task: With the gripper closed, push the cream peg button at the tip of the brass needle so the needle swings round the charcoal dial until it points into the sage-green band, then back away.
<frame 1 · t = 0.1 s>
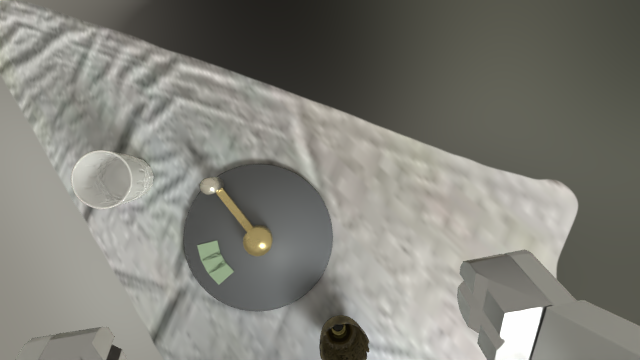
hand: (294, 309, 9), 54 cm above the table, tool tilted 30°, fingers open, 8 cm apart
needle: (237, 216, 58), point 4 cm above the table, hinge at 0.0°
white cup: (132, 177, 61), on the table
dial: (259, 237, 63), on the table
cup: (337, 325, 64), on the table
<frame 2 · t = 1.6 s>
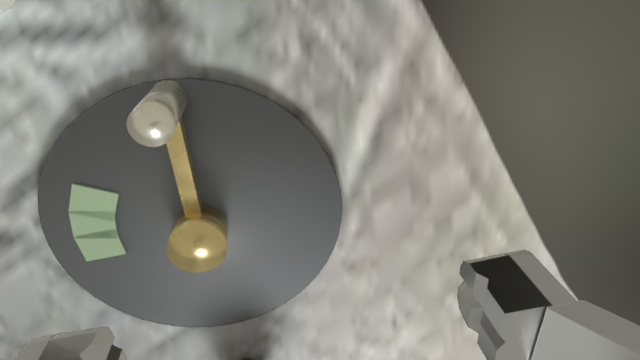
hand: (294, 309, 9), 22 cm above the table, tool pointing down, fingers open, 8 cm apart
needle: (182, 193, 27), point 4 cm above the table, hinge at 0.0°
dial: (202, 219, 33), on the table
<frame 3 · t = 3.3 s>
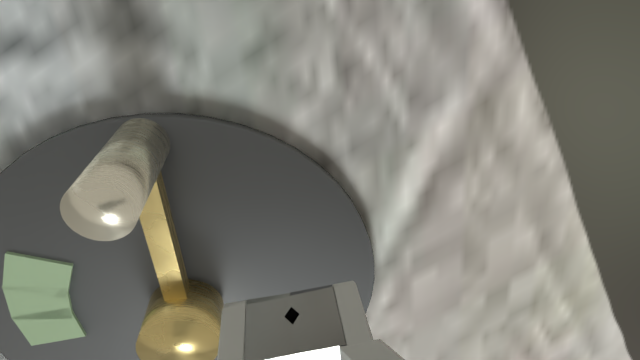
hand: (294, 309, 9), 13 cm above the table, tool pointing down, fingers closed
needle: (158, 280, 19), point 4 cm above the table, hinge at 0.0°
dial: (189, 291, 25), on the table
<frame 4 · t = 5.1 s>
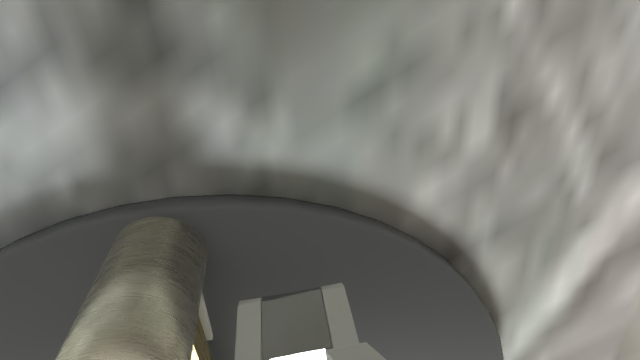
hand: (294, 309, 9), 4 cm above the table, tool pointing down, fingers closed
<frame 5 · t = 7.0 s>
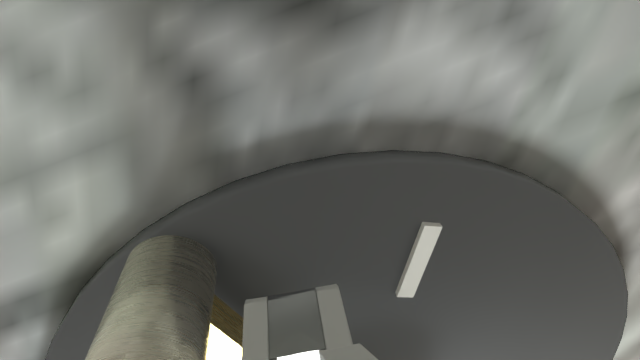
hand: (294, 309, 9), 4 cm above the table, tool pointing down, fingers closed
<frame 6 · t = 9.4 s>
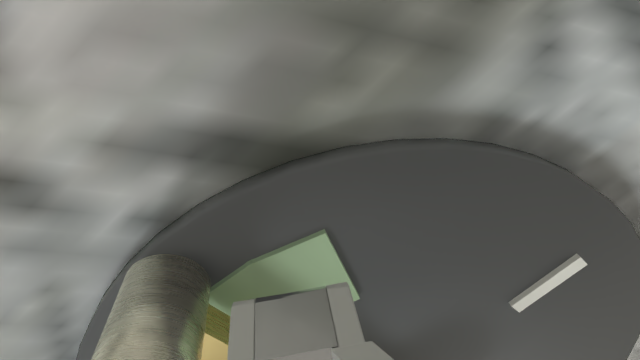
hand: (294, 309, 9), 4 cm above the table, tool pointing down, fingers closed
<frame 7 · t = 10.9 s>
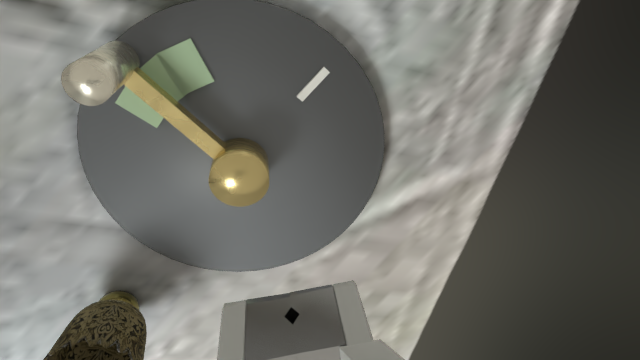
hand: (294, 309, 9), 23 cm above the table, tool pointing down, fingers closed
needle: (185, 136, 26), point 4 cm above the table, hinge at 84.6°
dial: (241, 156, 32), on the table
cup: (121, 299, 38), on the table
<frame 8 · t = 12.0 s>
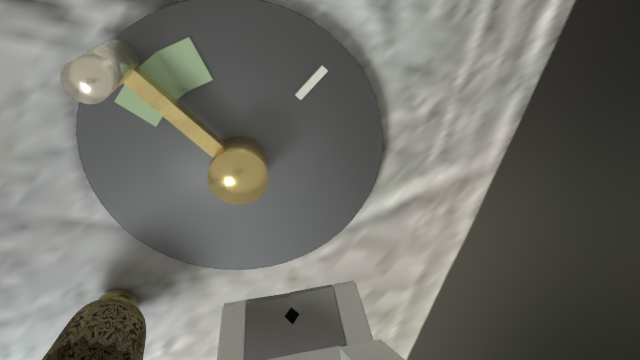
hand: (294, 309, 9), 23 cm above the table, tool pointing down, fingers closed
needle: (184, 134, 26), point 4 cm above the table, hinge at 84.6°
dial: (240, 155, 32), on the table
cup: (121, 298, 38), on the table
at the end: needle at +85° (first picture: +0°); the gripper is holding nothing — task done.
